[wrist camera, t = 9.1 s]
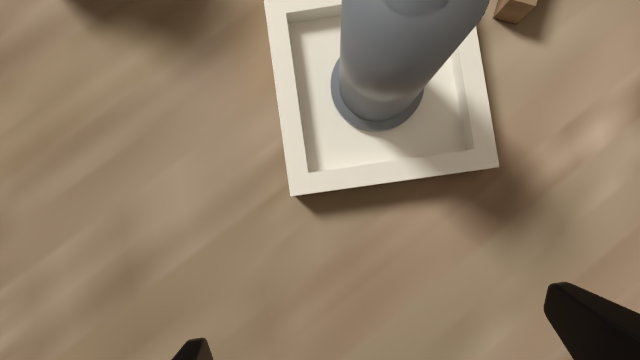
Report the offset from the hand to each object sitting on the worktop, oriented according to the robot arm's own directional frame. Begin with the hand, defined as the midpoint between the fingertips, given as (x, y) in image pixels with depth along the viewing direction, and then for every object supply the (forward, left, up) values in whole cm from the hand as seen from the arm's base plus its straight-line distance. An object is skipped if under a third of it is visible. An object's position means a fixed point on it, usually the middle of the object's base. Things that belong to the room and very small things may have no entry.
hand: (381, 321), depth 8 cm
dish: (+10, -3, -12) cm, 16 cm away
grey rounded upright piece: (+10, -3, -11) cm, 15 cm away
